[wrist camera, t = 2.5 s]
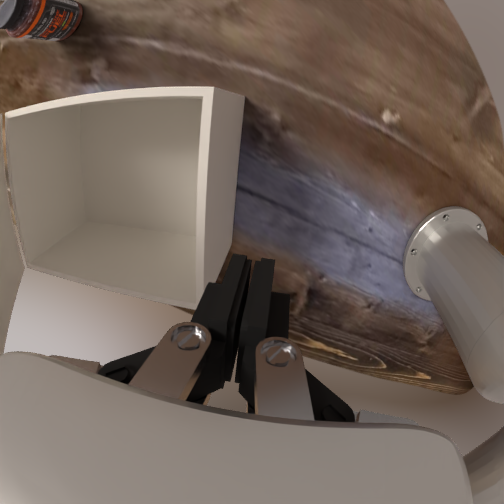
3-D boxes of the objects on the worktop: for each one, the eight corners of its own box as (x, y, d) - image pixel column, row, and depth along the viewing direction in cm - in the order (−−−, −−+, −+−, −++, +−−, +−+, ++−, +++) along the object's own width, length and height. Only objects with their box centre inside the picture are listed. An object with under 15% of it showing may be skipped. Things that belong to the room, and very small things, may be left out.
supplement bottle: (68, 46, 23) (1, 43, 13) (46, 35, 22) (-16, 32, 12) (92, 6, 20) (29, -11, 10) (68, -2, 19) (8, -15, 9)
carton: (245, 96, 25) (214, 87, 14) (231, 243, 33) (203, 311, 22) (80, 101, 26) (5, 112, 16) (86, 222, 34) (27, 267, 23)
